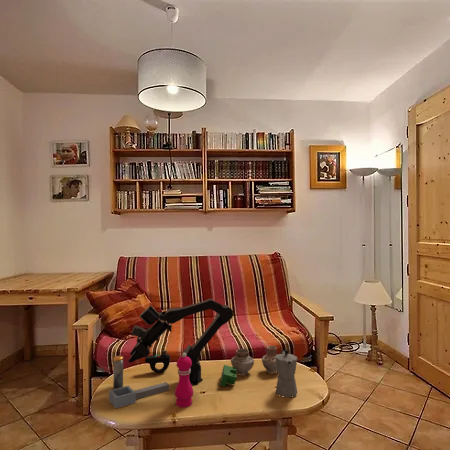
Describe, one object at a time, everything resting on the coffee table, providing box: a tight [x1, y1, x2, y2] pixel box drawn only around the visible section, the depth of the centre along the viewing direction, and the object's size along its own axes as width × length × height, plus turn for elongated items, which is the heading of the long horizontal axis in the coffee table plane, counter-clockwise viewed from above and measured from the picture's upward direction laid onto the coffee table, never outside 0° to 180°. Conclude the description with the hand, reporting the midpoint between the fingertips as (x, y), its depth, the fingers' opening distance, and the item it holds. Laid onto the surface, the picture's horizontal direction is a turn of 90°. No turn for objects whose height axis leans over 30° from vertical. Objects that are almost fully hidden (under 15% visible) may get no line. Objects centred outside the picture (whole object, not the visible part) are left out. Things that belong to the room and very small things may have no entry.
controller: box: [144, 350, 171, 374], centre depth 171 cm, size 4×12×10 cm, turn 103°
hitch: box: [108, 381, 170, 409], centre depth 146 cm, size 24×8×4 cm, turn 126°
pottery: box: [230, 345, 278, 376], centre depth 171 cm, size 11×25×12 cm, turn 96°
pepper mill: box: [174, 352, 194, 408], centre depth 140 cm, size 7×7×20 cm
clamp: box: [220, 364, 238, 388], centre depth 160 cm, size 12×6×9 cm, turn 173°
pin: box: [113, 355, 124, 389], centre depth 155 cm, size 4×4×13 cm
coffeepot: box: [275, 349, 298, 398], centre depth 150 cm, size 15×9×18 cm, turn 2°
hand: (129, 358), depth 156 cm, fingers open, 9 cm apart
